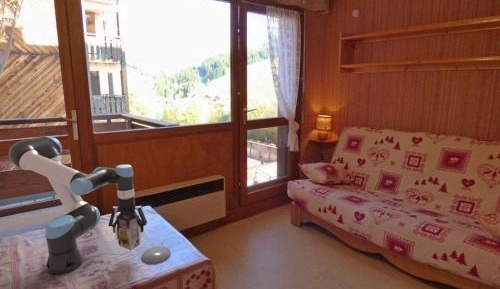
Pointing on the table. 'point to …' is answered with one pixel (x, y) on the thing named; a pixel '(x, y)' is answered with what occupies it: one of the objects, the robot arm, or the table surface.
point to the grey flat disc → (155, 254)
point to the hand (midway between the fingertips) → (129, 238)
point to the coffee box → (128, 231)
